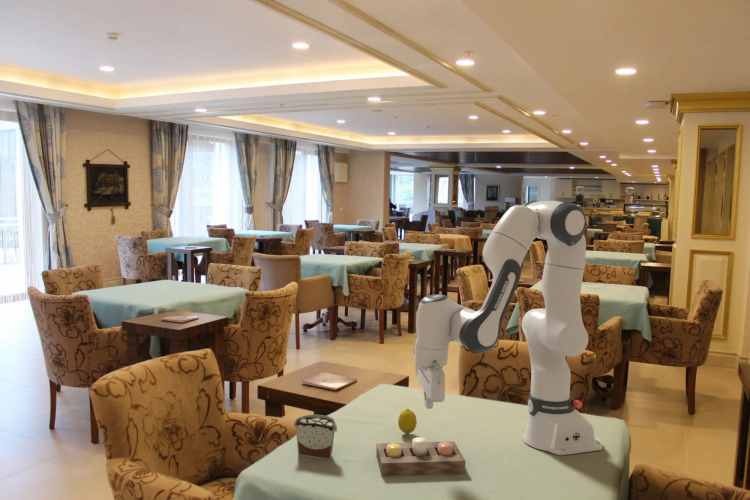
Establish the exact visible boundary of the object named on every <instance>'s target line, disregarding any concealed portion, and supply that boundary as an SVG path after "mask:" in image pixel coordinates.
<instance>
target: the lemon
mask: <svg viewBox="0 0 750 500" xmlns="http://www.w3.org/2000/svg"><path fill="white" fill-rule="evenodd" d="M417 421H418V420H417V416H416V414H415V412H414V411H413V410H411V409H410V408H406V409H403V410H402V411H401V412H400V413H399V416H398V422H397V423H398V428H399V430H400V432H402V433H405V435H409V434H410V433H412V432H414V431H415V429H416V428H417V424H418V423H417Z"/></svg>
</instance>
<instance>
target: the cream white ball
mask: <svg viewBox="0 0 750 500" xmlns="http://www.w3.org/2000/svg"><path fill="white" fill-rule="evenodd" d="M427 442H428V439H427V438H425V437H421V436H420V437H419V436H417V437H413V438H412V442H411V443H412V454H413V455H416V456H425V455H427Z"/></svg>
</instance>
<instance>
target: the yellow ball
mask: <svg viewBox="0 0 750 500" xmlns="http://www.w3.org/2000/svg"><path fill="white" fill-rule="evenodd" d="M395 443H396V442H393V443H392V444H388V445H387V450H386V457H401V449H402V446H401V445H399V444H395Z"/></svg>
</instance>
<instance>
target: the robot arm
mask: <svg viewBox="0 0 750 500" xmlns="http://www.w3.org/2000/svg"><path fill="white" fill-rule="evenodd" d="M586 219H587V218H586V215H585V212H584V210H583V209H582V207H580V206H579V205H577V204H575V203H572V202H567V201H566V202H563V201H558V200H542V201H540V200H539V201H538V200H532V201H527V202H525V203H523V204H521V205H520V204H516V205H512V206H511V207H509V208H508V210H507V211H505V213H504V214H503V215H502V216H501V218H500V219H499V220H498V221H497V223H496V224H495V226H494V227H493V229H492V231H491V233H490V234H489V236H488V237H487V239H486V241H485V243H484V245H483V249H482V259H483V261H484V263H485V265H486V266H487V267H486V268H488V269H489V271H490V272H491V274H492V283H491V286H490V288H489V290H488V292H487V295H486V297H485V300H484V302H483V303H482V305H481V308H480V309H478V310H474V309H472V308H469V307H466V306H464V305H461V304H459V303H457V302H455V301H453V300H452V299H450V297H449V296H447V295H445V294H430V295H426V296H424V297H423V298H421V300H420V301H419V304H418V307H417V312H416V313H417V314H416V325H415V330H416V335H417V336H416V339H415V342H414V343H415V344H414V347H413V355H414V359H413V361H414V363H415V377H416V381H417V382H418V383H419V385H420V386H421V388H422V390H423V399H424V401H423V404H424V406H425V407H426V409H428V410H429V409H430V410H431V409H433V407H434V403H442V402H444V401H445V399H446V398H445V397H446V375H445V371H444V370H443V367H445V366H447V365H448V362H449V347H450V346H449V345H450V342H455V343H457V344H459V345H462V346H463V347H465V349H467V350H469V351H470V352H472V353H475V354H484V353H487V352H490V351H491V350H492V349H493V348H494V347H495V346H496V344H497V343H498V342H499V339H500V335H501V330H502V326H503V321H504V319H505V316H506V314H507V312H508V309H509V307H510V304H511V302H512V300H513V298H514V295H515V292H516V290H517V287H518V285H519V283H520V279H521V276H522V268H521V267H522V264H523V261H524V259H525V257H526V255H527V253H528V252H529V249H530V247H531V246H532V243H533V241H534V240H535V239H536V238H537V239H540V240H545V241H546V243H547V251H546V256H545V260H544V266H543V270H542V279H541V283H540V292H541V294H542V296H543V300H544V307H545V308H531V309H530V310H528V311H526V312H525V314H524V315H523V318H522V320H521V328H522V331H523V333H524V336H525V339H526V343H527V348H528V353H529V359H530V366H531V367H530V368H531V373H530V374H531V375H530V376H531V377H530V379H531V380H530V392H529V393H528V402H527V403H528V404H527V407H528V417H527V422H526V426H525V430H524V433H523V436H522V440H523V441H524V443H525V444H527V445H528V446H531V447H532V448H534V449H537V450H540V451H545V452H549V453H552V454H554V455H556V456H557V455H558V456H567V455H573V454H580V453H588V452H596V451H602V450H603V443H602V441H601V440H600V439H599V438H598V437H597V436H596V435H595V431H594V427H593V426H594V425H593V424H592V423H591V422H590V421H589V420H588V418H586V416H584V415H583V414H582V413H580V412H579V411H578V410H577V409H581V408H582V406H583V403H582V402H581V401H580V400H579V399H575V398H574V397H573V396H571V393H570V391H571V379H572V378H571V369H570V366H569V365H568V363H567V360H566V357H577V356H579V355H581V354H582V353H583V352H584V351H585V350H586V348H587V346H588V344H589V333H588V330H587V329H586V328H585V325H584V321H583V317H582V308H581V307H582V306H581V291H582V286H583V285H582V284H583V278H584V272H585V266H586V258H587V240H586V236H585V234H584V233H585V230H586V225H587V220H586Z"/></svg>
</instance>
